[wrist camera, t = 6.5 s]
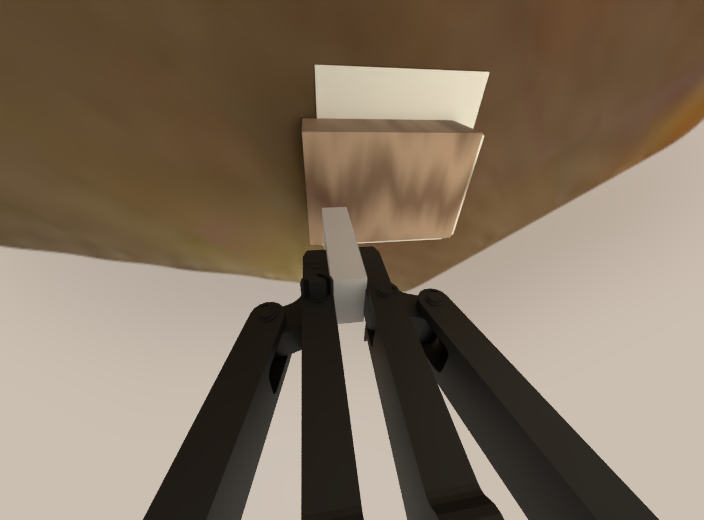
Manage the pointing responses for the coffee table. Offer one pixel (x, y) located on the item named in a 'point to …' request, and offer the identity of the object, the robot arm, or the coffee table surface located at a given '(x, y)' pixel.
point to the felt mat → (398, 95)
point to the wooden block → (388, 175)
